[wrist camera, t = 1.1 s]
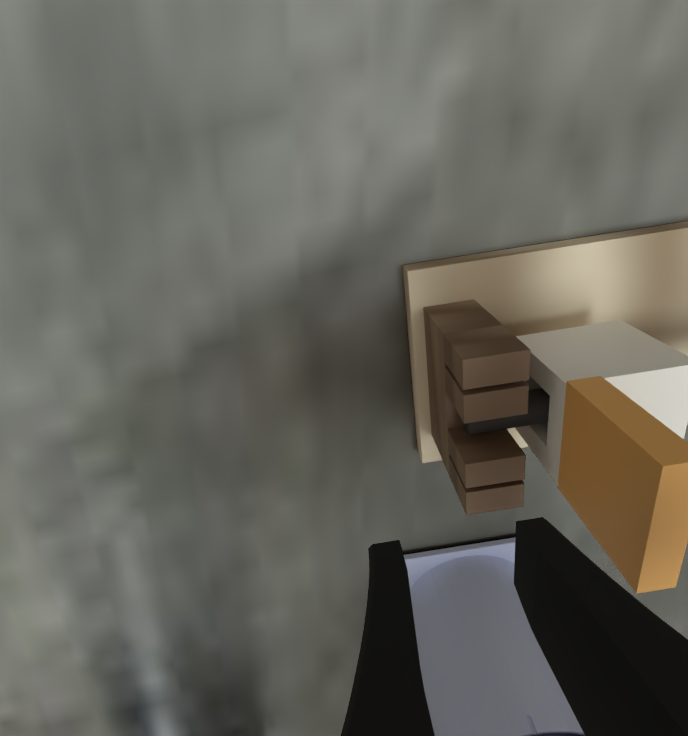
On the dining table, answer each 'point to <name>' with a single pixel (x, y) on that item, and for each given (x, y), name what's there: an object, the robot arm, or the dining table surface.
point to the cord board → (511, 356)
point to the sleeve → (617, 441)
